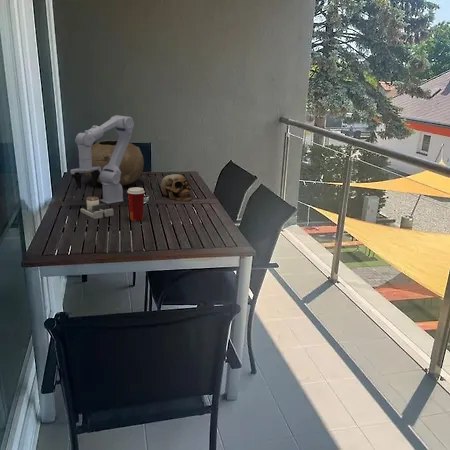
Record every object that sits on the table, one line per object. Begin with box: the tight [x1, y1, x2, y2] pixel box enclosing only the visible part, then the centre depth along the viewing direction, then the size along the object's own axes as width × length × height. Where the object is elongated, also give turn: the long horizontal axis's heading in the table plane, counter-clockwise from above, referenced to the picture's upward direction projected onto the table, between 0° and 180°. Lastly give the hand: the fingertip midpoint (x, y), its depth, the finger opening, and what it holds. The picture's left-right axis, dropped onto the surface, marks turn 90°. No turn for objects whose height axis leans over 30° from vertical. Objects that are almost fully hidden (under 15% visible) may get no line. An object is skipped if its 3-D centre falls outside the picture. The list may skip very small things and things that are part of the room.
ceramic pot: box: [84, 139, 145, 187], centre depth 263 cm, size 33×34×25 cm
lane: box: [80, 208, 114, 220], centre depth 209 cm, size 9×14×3 cm
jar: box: [86, 196, 100, 213], centre depth 209 cm, size 6×6×7 cm
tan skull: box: [160, 173, 193, 202], centre depth 243 cm, size 16×17×13 cm
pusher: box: [92, 202, 108, 215], centre depth 205 cm, size 6×7×5 cm
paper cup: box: [126, 187, 146, 222], centre depth 202 cm, size 8×8×14 cm
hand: (87, 187), depth 216 cm, fingers open, 7 cm apart
